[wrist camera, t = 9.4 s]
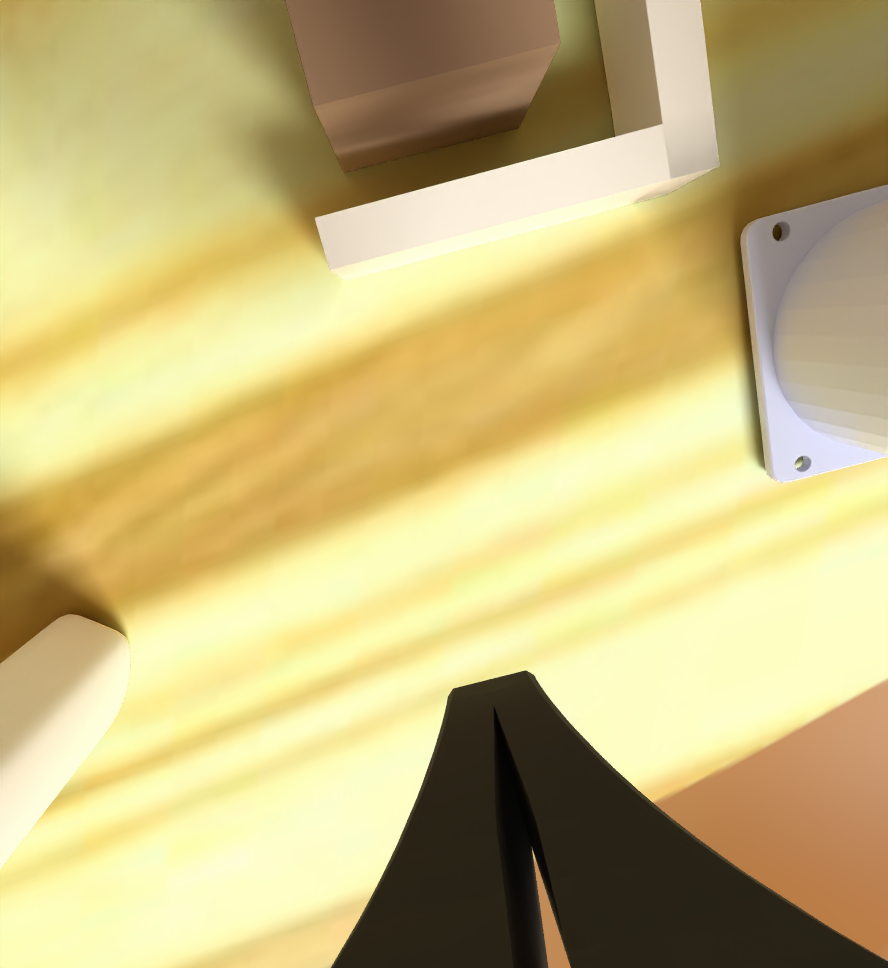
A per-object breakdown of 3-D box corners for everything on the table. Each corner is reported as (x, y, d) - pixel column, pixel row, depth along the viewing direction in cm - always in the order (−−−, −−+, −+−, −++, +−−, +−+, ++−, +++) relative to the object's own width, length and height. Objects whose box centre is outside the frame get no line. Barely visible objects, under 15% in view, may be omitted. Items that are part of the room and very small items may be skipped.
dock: (603, -265, 14) (651, -419, 11) (667, 194, 17) (719, 165, 14) (221, -155, 14) (170, -280, 11) (344, 280, 17) (329, 270, 14)
